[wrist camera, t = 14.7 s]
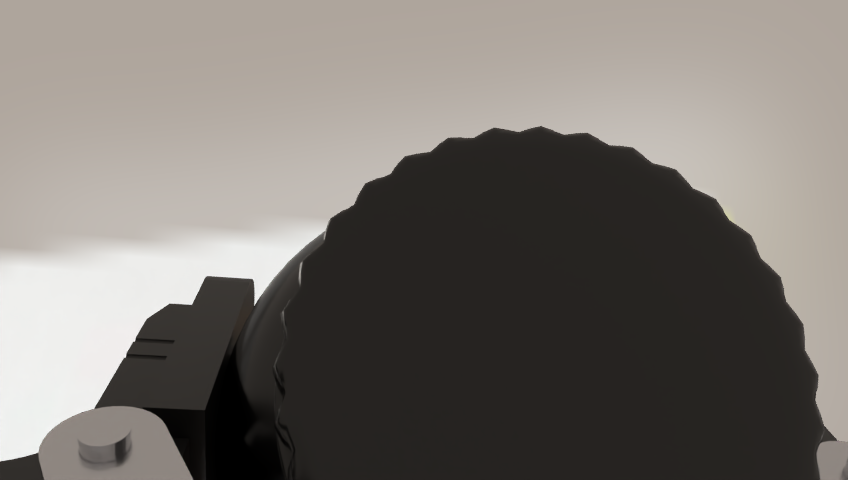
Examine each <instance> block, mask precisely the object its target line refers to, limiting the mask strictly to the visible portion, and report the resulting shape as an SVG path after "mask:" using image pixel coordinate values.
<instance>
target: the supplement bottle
mask: <svg viewBox="0 0 848 480" xmlns="http://www.w3.org/2000/svg"><path fill="white" fill-rule="evenodd" d="M817 388H818V374H817V371H816V369H815V367H814V366H813V363H812V362H811V360H810V358H809V356H808V355H807V353H806V351H805V336H804V327H803V323H802V322H801V321H800V319H799V318H798V316H797V315H796V313H795V312H794V311H793V310H792V308H791V307H790V306H789V305H788V303H787V302H786V299H785V296H784V288H783V284H782V281H781V277H780V276H779V275H778V274H777V273H776V272H775V271H774V270H772V268H771V267H770V266H769V265H768V264H766V263H765V262H764V261H763V260H762V259H761V258H760V256H759V253H758V251H757V248H756V245H755V243H754V241H753V239H752V236H751V235H750V234H748V233H747V232H746V231H744V230H743V229H742V228H740V227H739V226H737V225H736V224H734V223H733V222H731V221H730V220H729V219H728V218H727V216H726V215H725V213H724V211H723V209H722V207H721V206H720V205H719V203H718V202H717V200H716V199H714V198H712V197H710V196H708V195H706V194H704V193H702V192H700V191H698V190H695V189H693V188H692V187H691V186H690V184H689V183H688V182H687V181H686V180H685V179H684V178H683V177H682V176H681V174H679V173H678V171H677V170H675V169H672V168H669V167H665V166H661V165H657V164H653V163H651V162H650V161H649V160H647V159H646V158H645V157H644V156H643V155H642V154H640V153H639V152H638V151H637V150H635V149H634V148H631V147H624V146H610V145H608V144H606V143H604V142H602V141H600V140H599V139H598V138H596V137H594V136H592V135H590V134H588V133H576V134H568V135H563V134H560V133H557V132H554V131H553V130H551V129H547V128H544V127H542V126H540V127H535V128H531V129H528V130H524V131H521V132H515V131H510V130H505V129H499V128H493V129H490V130H488V131H486V132H483V133H482V134H480V135H478V136H477V137H475V138H447V139H446V140H445V141H443V142H442V143H440V144H439V145H438V146H437V147H436V148H435V149H433V150H432V151H431V152H427V153H420V154H414V155H410V156H405V157H404V158H403V159H402V160H401V161H400V162H399V163H398V165H397V166H396V167H395V169H394V170H393V171H392V173H391V174H390V175H387V176H385V177H382V178H377V179H375V180H373V181H370V182H368V183H366V184H365V185H364V186H363V188H362V190H361V191H360V193H359V195H358V197H357V200H356V202H355V204H354V205H353V206H351V207H350V208H348V209H346V210H343V211H341V212H340V213H338V214H337V215H335V216H334V217H332V218H331V219H330V220H329V222H328V225H327V228H326V231H324V232H323V233H322V234H321V235H319V236H318V237H317V238H315V239H314V240H313V241H311V242H310V243H309V244H307V245H306V246H305V247H304V248H303V249H302V250H301V251H300V252H299V253H298V254H296V255H295V256H294V257H293V258H292V259H291V260H290V261H289V262H288V263H287V264H286V265H285V267H284V268H283V269H282V270H281V271H280V272H279V273H278V274H277V276H276V277H275V278H274V279H273V280H272V282H271V283H270V284H269V286H268V287H267V288H266V290H265V291H264V293H263V294H262V295H261V297H260V298H259V299H258V301H257V303H256V304H255V306H254V308H253V309H252V311H251V313H250V315H249V316H248V318H247V320H246V321H245V323H244V325H243V328H242V330H241V332H240V334H239V336H238V338H237V340H236V343H235V345H234V348H233V350H232V353H231V356H230V359H229V362H228V365H227V367H226V371H225V375H224V380H223V384H222V389H221V395H220V402H219V409H218V416H217V425H216V437H215V469H216V480H820V471H819V466H818V463H817V454H816V453H817V450H818V447H819V445H820V443H821V442H822V438H823V434H824V431H825V428H824V424H823V421H822V418H821V415H820V412H819V409H818V407H817V404H816V401H815V398H816V391H817Z"/></svg>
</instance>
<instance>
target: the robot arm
mask: <svg viewBox="0 0 848 480" xmlns="http://www.w3.org/2000/svg"><path fill="white" fill-rule="evenodd" d="M253 308H254V282H253V279H242V278H227V277H212V276H207V277H206V278H205V279H204V282H203V284H202V286H201V288H200V290H199V292H198V294H197V296H196V298H195V300H194V302H193V304H192V305H183V304H169V305H167V306H166V307H164V308H163V309H161V310H160V311H158V312H157V313H155V314H154V315H152V316H151V317H149V318H148V319H147V320H146V321H145V323H144V325H143V326H142V328H141V330H140V332H139V333H138V335H137V337H136V341H135V342H133V344H132V345H131V347H130V349H129V350H128V352H127V354H126V358H124V359H123V361H122V362H121V364H120V366H119V367H118V369H117V371H116V373H115V374H114V376H113V378H112V379H111V381H110V383H109V385H108V386H107V388H106V390H105V391H104V393H103V395H102V397H101V398H100V400H99V402H98V403H97V405H96V407H95V408H94V409H92V410H89V411H85V412H82V413H80V414H77V415H75V416H72V417H70V418H68V419H67V420H65V421H63V422H61V423H60V424H59V425H57V426H56V427H54V428H53V429H52V430H51V431H50V432H49V433H48V434H47V435H46V437H45V438H44V439H43V441H42V443H41V445H40V448H39V453H36V454H33V455H30V456H26V457H22V458H17V459H12V460H7V461H1V462H0V480H216V469H215V437H216V425H217V416H218V409H219V402H220V395H221V389H222V384H223V380H224V375H225V371H226V367H227V365H228V362H229V359H230V356H231V353H232V350H233V348H234V345H235V343H236V340H237V338H238V336H239V334H240V332H241V330H242V328H243V325H244V323H245V321H246V320H247V318H248V316H249V315H250V313H251V311H252V309H253ZM824 428H825V431H824V434H823V438H822V442H821V443H820V445H819V447H818V450H817V453H816V454H817V463H818V466H819V471H820V480H848V442H842V441H837V440H836V438H835V437H834V436H833V435H832V434H831V433H830V432H829V431H828V430H827V429H826V427H825V426H824Z"/></svg>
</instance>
